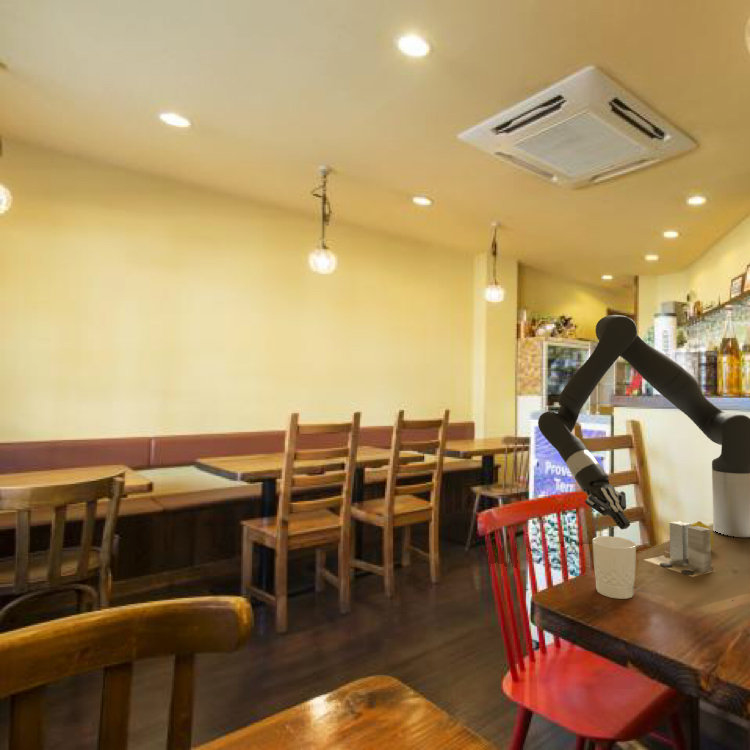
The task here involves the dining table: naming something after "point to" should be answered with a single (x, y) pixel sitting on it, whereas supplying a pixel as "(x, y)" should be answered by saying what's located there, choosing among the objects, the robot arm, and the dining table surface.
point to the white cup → (614, 566)
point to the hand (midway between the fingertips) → (626, 527)
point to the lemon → (703, 527)
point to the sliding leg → (679, 543)
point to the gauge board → (692, 554)
